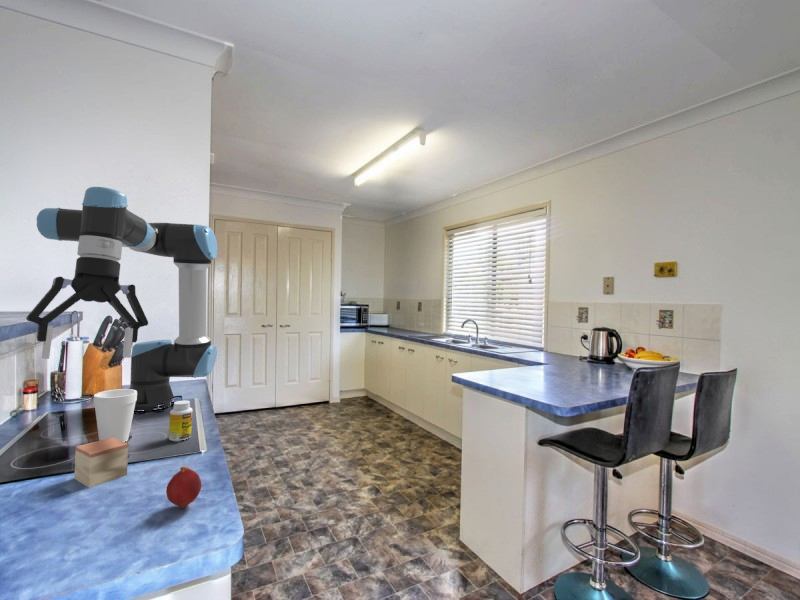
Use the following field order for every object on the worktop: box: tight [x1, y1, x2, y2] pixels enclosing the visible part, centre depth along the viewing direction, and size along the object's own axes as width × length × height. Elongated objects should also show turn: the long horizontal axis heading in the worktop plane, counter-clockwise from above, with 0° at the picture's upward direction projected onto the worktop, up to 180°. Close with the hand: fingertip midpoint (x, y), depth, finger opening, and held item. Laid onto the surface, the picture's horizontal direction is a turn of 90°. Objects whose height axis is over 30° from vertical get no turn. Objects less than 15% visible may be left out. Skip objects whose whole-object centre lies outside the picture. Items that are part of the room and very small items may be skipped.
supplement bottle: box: [168, 400, 194, 442], centre depth 107 cm, size 6×6×10 cm
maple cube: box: [74, 437, 129, 488], centre depth 84 cm, size 7×7×7 cm
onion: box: [166, 465, 202, 509], centre depth 73 cm, size 6×6×8 cm
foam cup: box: [93, 388, 137, 443], centre depth 103 cm, size 10×9×13 cm
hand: (88, 358), depth 81 cm, fingers open, 13 cm apart
